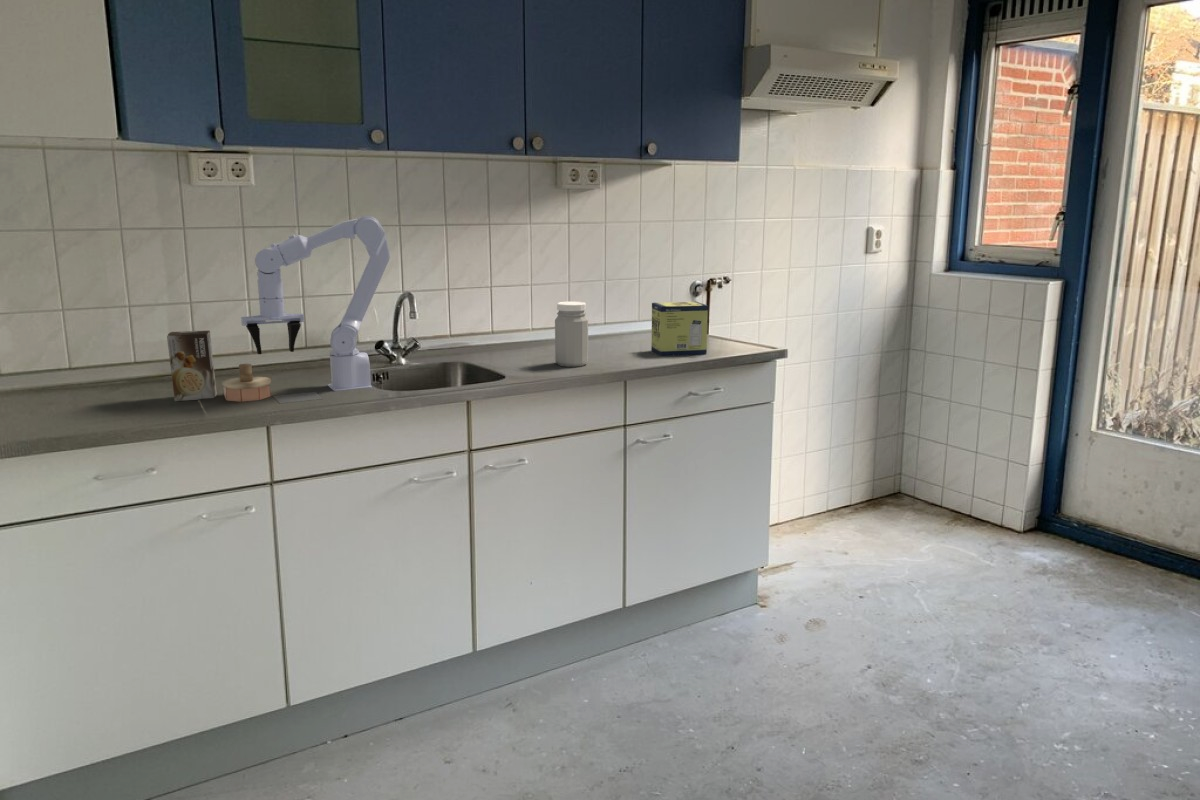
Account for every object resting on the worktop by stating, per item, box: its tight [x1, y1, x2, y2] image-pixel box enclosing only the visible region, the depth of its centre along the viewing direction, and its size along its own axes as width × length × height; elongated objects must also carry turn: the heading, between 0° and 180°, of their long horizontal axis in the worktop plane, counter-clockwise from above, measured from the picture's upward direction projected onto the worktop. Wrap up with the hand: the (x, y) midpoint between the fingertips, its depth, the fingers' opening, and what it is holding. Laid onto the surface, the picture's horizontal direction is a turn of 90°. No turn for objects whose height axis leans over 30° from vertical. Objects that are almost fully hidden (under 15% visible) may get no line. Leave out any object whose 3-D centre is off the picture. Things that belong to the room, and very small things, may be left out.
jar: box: [554, 300, 589, 368], centre depth 260 cm, size 10×10×18 cm
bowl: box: [223, 383, 271, 403], centre depth 217 cm, size 10×10×4 cm
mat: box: [272, 391, 324, 405], centre depth 217 cm, size 10×9×1 cm
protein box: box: [650, 300, 709, 357], centre depth 281 cm, size 10×16×16 cm
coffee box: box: [166, 330, 218, 402], centre depth 216 cm, size 9×6×16 cm
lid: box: [221, 363, 272, 389], centre depth 216 cm, size 11×11×5 cm
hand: (275, 352), depth 223 cm, fingers open, 7 cm apart
